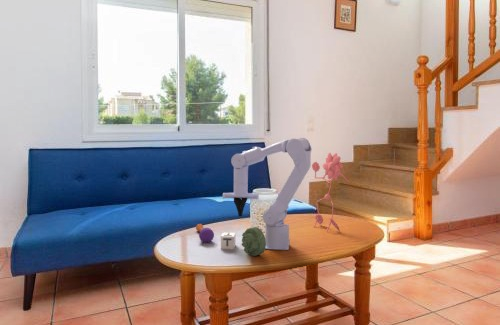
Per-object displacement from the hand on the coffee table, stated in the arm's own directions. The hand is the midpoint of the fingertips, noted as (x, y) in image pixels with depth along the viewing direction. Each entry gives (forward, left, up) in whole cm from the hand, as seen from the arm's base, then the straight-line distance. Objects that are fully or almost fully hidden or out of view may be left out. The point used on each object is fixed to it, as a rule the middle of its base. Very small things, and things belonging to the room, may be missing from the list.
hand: (240, 215), depth 153 cm
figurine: (-40, -24, -11) cm, 48 cm away
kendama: (+16, -4, -11) cm, 20 cm away
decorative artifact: (-5, +17, -11) cm, 21 cm away
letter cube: (+4, +8, -11) cm, 14 cm away
